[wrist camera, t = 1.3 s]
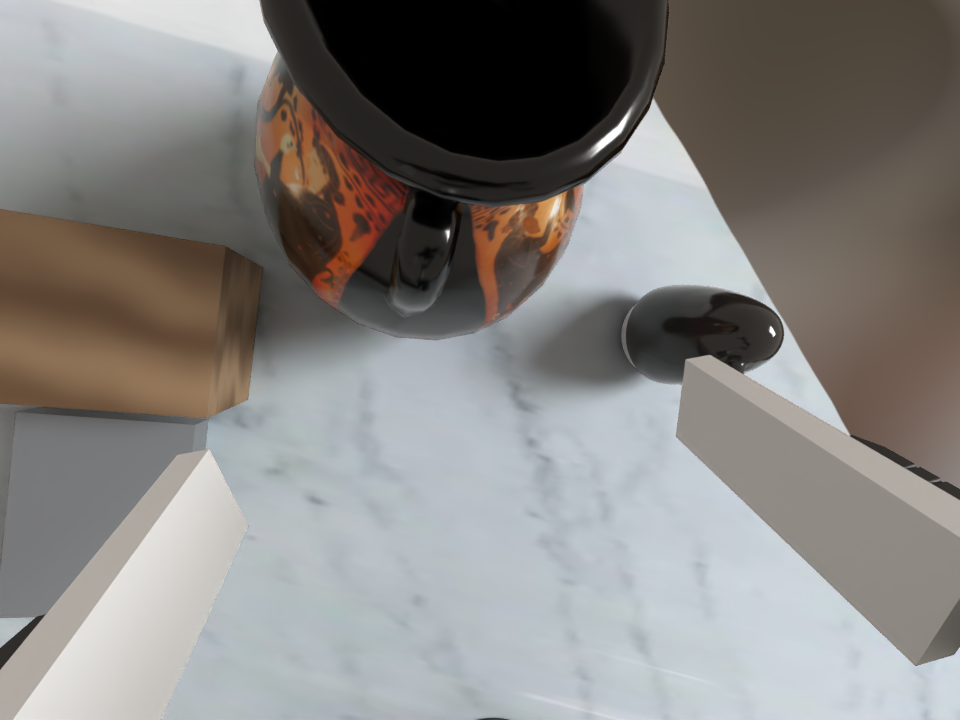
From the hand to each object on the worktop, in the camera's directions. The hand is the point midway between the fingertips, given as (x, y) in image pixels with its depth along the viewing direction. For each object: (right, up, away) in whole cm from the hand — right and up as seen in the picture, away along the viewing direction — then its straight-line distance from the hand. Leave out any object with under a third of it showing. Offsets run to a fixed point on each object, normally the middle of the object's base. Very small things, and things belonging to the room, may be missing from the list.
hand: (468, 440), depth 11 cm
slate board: (-31, -10, +23) cm, 40 cm away
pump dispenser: (+19, +5, +34) cm, 39 cm away
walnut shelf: (-29, +6, +22) cm, 37 cm away
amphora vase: (-6, +15, +28) cm, 32 cm away
